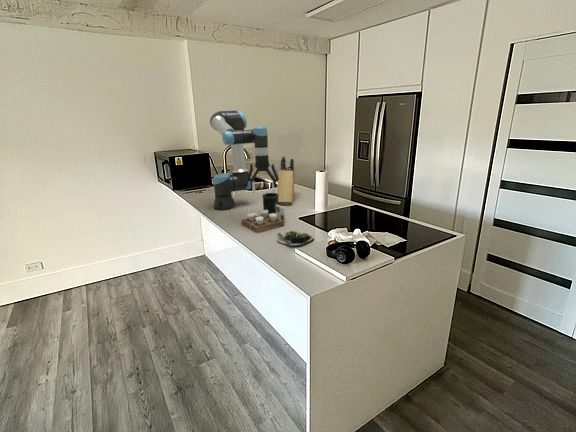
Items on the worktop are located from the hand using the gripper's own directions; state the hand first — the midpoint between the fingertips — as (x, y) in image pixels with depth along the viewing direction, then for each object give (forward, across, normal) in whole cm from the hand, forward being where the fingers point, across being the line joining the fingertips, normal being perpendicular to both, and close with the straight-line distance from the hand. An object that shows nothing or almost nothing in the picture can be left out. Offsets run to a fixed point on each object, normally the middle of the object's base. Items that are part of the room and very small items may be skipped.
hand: (263, 192), depth 184 cm
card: (+18, +10, +3) cm, 21 cm away
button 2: (+16, 0, -13) cm, 21 cm away
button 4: (+16, +6, -7) cm, 18 cm away
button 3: (+16, 0, 0) cm, 16 cm away
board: (+18, 0, -6) cm, 19 cm away
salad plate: (+19, +22, -28) cm, 40 cm away
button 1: (+16, -7, -6) cm, 18 cm away
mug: (+18, -1, +20) cm, 27 cm away
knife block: (+18, +5, +51) cm, 54 cm away
